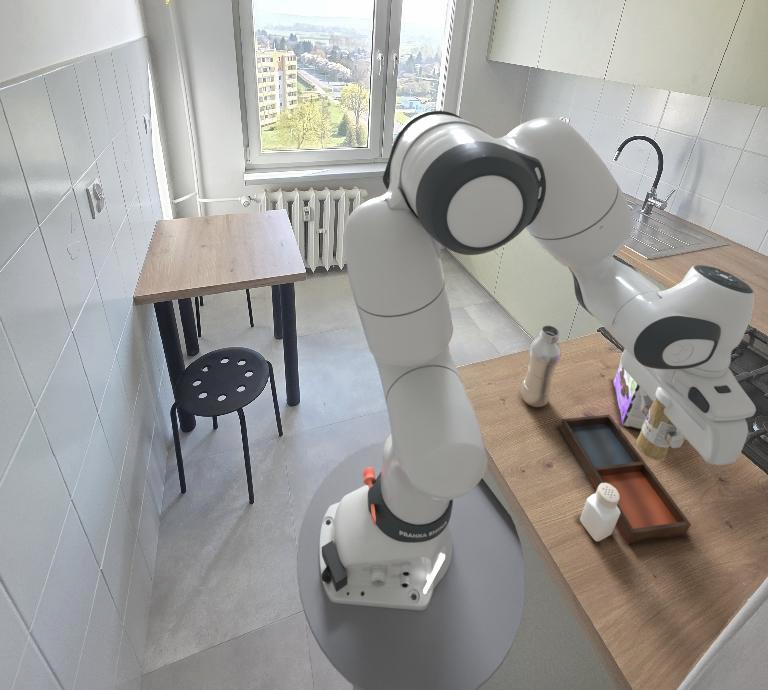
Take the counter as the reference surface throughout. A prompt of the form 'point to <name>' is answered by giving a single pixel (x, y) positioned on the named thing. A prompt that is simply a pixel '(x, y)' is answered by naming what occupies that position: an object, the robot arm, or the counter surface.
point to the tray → (624, 479)
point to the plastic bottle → (541, 367)
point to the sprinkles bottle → (656, 429)
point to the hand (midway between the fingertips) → (659, 428)
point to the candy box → (628, 399)
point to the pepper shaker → (601, 512)
